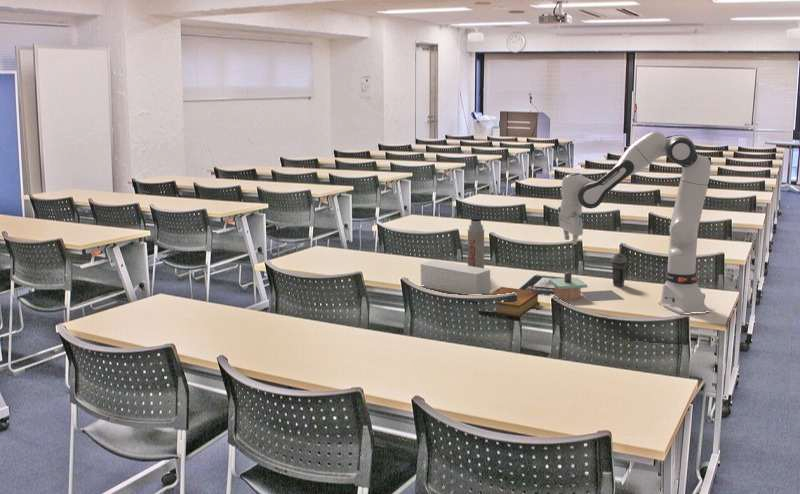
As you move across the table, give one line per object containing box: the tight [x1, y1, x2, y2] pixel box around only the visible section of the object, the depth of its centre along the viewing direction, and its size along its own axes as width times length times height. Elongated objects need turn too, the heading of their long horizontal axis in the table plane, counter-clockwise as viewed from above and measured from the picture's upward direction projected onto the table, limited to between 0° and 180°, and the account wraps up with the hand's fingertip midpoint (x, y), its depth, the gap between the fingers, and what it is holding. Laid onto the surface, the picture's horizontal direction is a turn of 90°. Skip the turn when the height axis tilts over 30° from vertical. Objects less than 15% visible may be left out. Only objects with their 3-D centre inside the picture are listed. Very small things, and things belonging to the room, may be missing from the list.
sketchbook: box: [518, 274, 565, 297], centre depth 381 cm, size 22×30×2 cm
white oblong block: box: [420, 259, 491, 295], centre depth 379 cm, size 32×11×11 cm, turn 50°
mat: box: [581, 290, 625, 302], centre depth 362 cm, size 15×15×1 cm
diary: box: [488, 286, 540, 318], centre depth 349 cm, size 23×19×6 cm
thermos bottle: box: [467, 217, 485, 269], centre depth 403 cm, size 8×8×28 cm
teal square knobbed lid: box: [549, 271, 588, 289], centre depth 360 cm, size 13×13×5 cm
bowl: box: [553, 287, 582, 301], centre depth 362 cm, size 11×11×6 cm
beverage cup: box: [611, 244, 629, 287], centre depth 377 cm, size 7×7×20 cm
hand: (570, 241), depth 357 cm, fingers open, 8 cm apart
